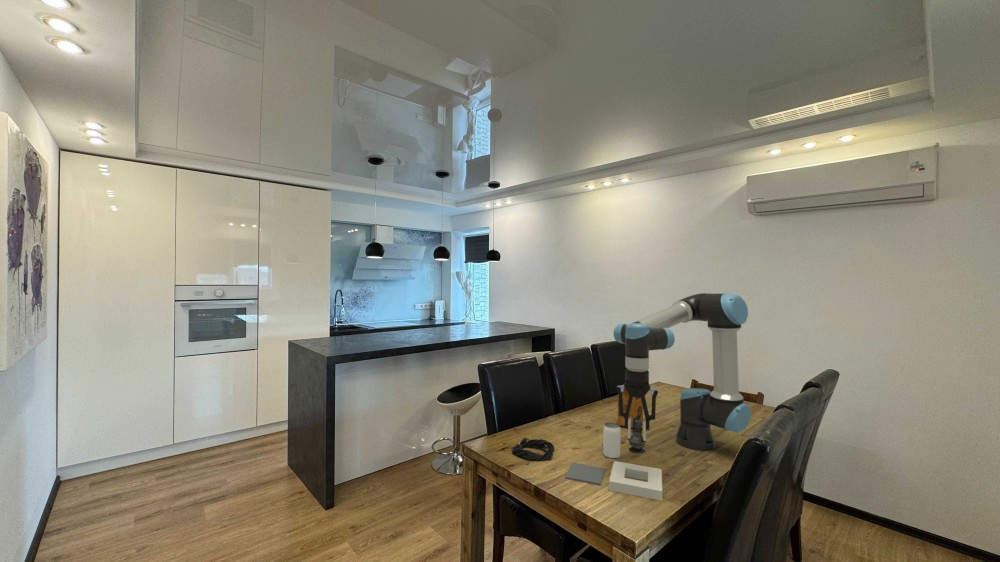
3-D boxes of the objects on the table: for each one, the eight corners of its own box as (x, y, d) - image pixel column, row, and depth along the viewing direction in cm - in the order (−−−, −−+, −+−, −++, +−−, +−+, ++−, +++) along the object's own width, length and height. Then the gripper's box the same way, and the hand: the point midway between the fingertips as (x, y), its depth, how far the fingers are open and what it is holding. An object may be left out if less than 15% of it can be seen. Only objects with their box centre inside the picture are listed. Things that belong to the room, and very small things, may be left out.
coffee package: (646, 425, 188) (647, 379, 188) (633, 431, 179) (633, 383, 180) (628, 419, 195) (628, 376, 196) (614, 425, 187) (614, 379, 187)
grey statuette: (625, 447, 134) (625, 412, 134) (641, 446, 134) (641, 412, 134) (632, 454, 128) (632, 418, 128) (649, 454, 128) (649, 417, 128)
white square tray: (661, 477, 135) (661, 469, 135) (662, 500, 120) (662, 491, 120) (613, 469, 141) (614, 460, 141) (609, 490, 126) (609, 481, 126)
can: (617, 460, 148) (617, 428, 149) (601, 456, 152) (601, 425, 152) (622, 454, 154) (622, 424, 154) (605, 450, 157) (606, 420, 158)
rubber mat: (604, 470, 140) (604, 468, 140) (600, 485, 129) (600, 483, 129) (571, 464, 145) (571, 462, 145) (565, 478, 134) (565, 476, 134)
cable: (561, 456, 152) (561, 445, 152) (537, 467, 142) (538, 455, 143) (529, 443, 165) (529, 433, 165) (505, 452, 155) (505, 441, 155)
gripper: (664, 369, 132) (664, 438, 131) (612, 365, 138) (611, 430, 138) (664, 373, 125) (664, 446, 124) (609, 369, 131) (609, 438, 131)
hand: (637, 438), depth 131 cm, fingers closed on grey statuette, 4 cm apart
